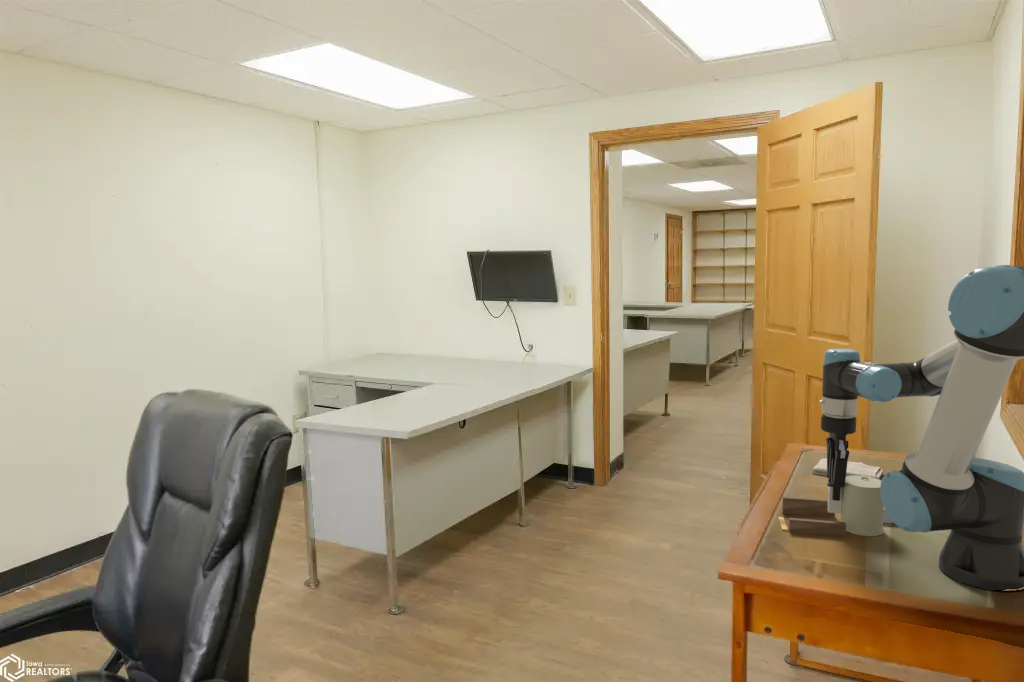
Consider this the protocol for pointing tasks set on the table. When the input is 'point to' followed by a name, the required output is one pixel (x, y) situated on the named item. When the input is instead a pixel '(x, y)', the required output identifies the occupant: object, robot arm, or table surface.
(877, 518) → the can
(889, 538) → the table surface
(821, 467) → the washcloth
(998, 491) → the robot arm
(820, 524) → the channel
